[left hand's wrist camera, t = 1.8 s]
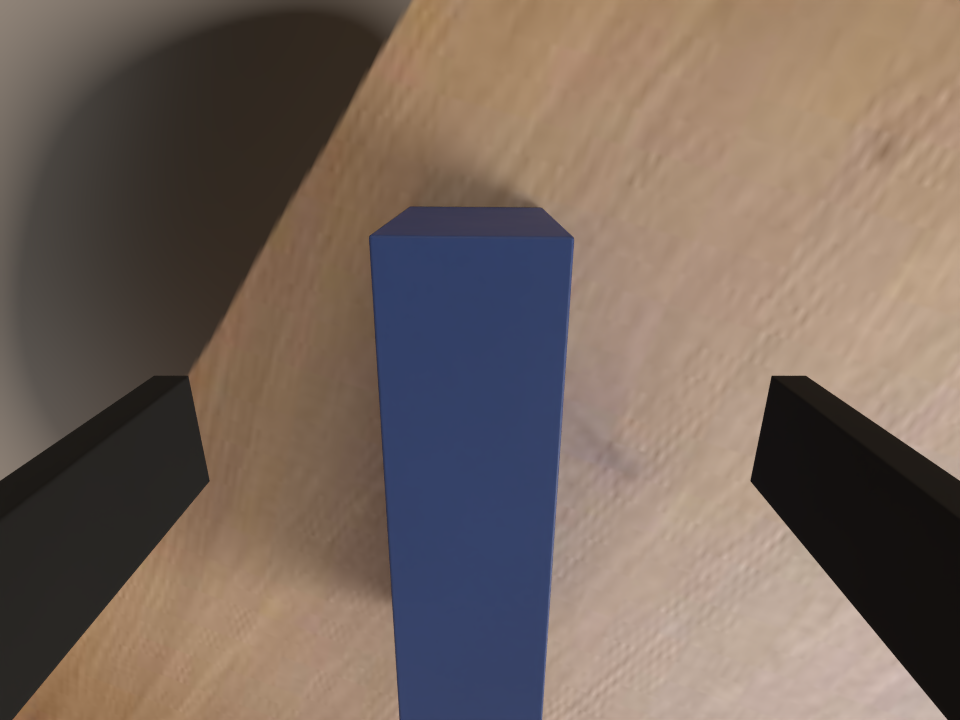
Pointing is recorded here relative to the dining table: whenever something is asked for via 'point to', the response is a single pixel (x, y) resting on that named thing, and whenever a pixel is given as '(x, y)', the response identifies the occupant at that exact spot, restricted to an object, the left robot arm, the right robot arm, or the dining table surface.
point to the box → (471, 450)
